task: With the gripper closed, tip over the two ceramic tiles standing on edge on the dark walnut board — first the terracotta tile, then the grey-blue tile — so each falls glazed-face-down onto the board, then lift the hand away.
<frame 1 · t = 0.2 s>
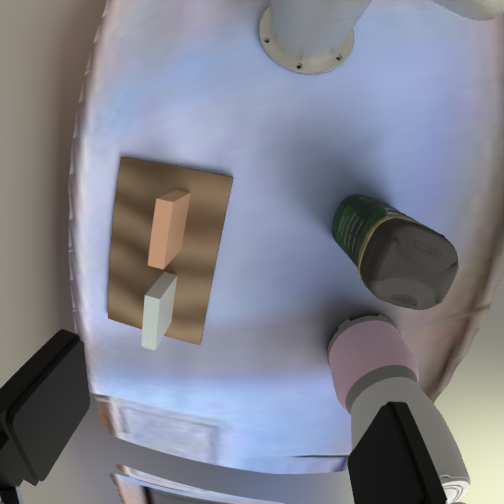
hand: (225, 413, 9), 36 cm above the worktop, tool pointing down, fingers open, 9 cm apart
terracotta tile: (178, 219, 43), point 1 cm above the worktop, touching walnut board
blender: (362, 352, 49), on the worktop
grey-blue tile: (167, 297, 46), point 1 cm above the worktop, touching walnut board
coffee jar: (365, 225, 43), on the worktop
walnut board: (161, 255, 45), on the worktop
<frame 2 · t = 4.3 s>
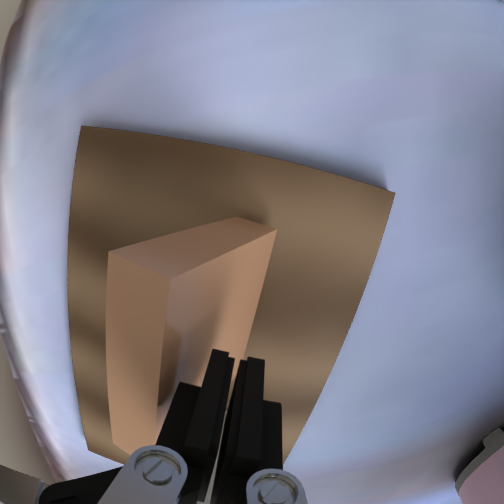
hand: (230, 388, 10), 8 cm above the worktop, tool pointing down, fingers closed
terracotta tile: (238, 301, 16), point 1 cm above the worktop, tilted 18°, touching walnut board
blender: (492, 457, 22), on the worktop
walnut board: (189, 367, 19), on the worktop
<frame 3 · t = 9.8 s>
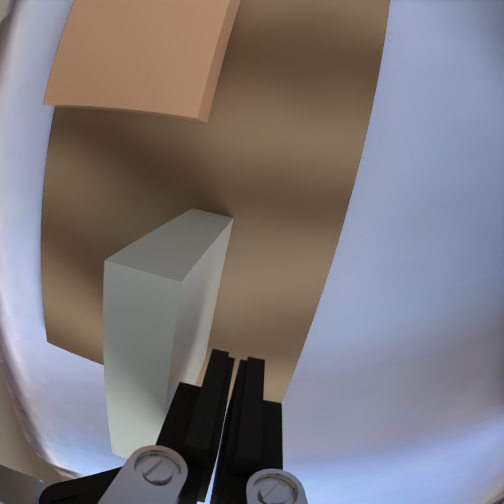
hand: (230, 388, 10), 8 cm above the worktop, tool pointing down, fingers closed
terracotta tile: (224, 36, 11), point 2 cm above the worktop, tilted 90°, touching walnut board
grey-blue tile: (198, 290, 16), point 1 cm above the worktop, touching gripper, walnut board
walnut board: (185, 161, 15), on the worktop
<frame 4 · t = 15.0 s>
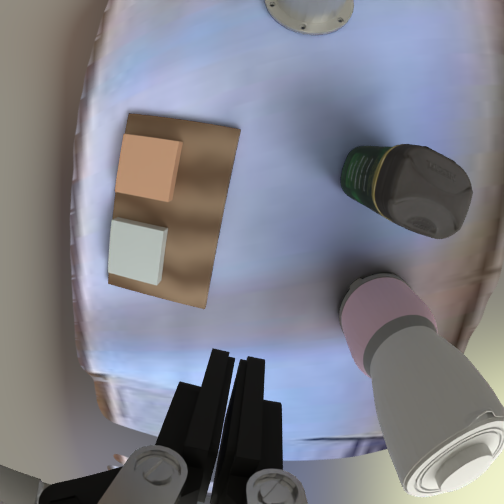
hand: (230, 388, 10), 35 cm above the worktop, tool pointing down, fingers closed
terracotta tile: (175, 171, 40), point 2 cm above the worktop, tilted 90°, touching walnut board
blender: (375, 316, 47), on the worktop
grey-blue tile: (162, 257, 44), point 2 cm above the worktop, tilted 90°, touching walnut board
coffee jar: (373, 178, 41), on the worktop
walnut board: (166, 211, 44), on the worktop
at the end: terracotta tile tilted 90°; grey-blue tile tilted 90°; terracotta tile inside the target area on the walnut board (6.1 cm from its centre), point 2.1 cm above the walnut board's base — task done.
